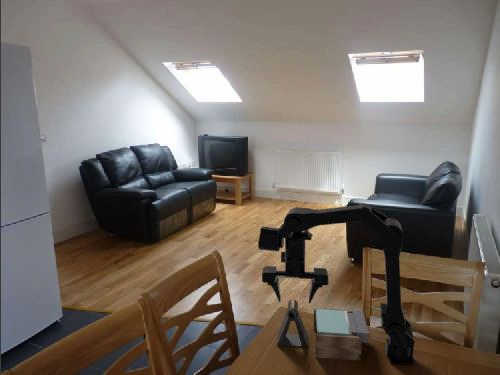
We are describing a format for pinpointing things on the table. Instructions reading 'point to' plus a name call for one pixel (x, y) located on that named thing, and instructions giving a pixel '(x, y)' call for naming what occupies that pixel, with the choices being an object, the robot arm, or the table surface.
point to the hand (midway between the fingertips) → (294, 302)
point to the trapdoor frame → (337, 344)
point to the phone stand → (283, 337)
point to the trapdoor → (342, 323)
